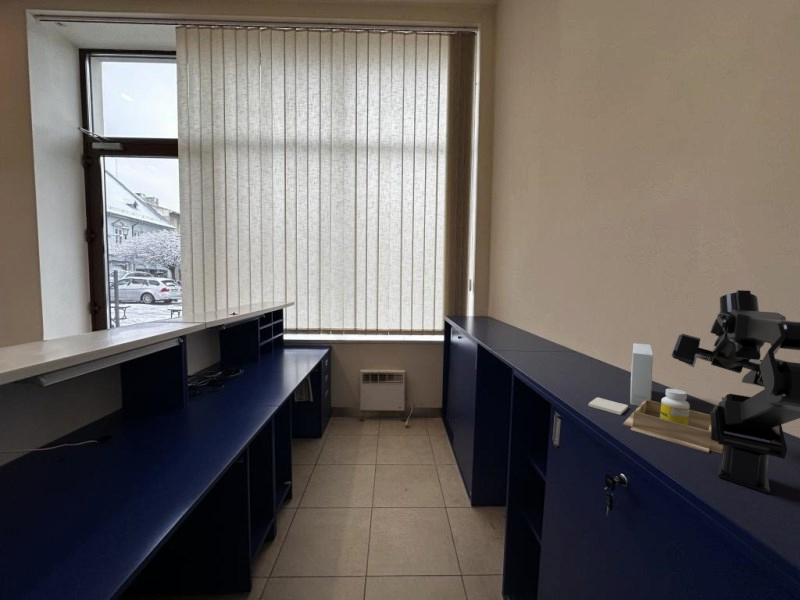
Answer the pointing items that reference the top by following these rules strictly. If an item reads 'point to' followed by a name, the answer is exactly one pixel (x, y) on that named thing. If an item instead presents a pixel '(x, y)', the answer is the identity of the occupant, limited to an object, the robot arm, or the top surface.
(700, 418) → the light brown piece
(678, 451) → the top surface
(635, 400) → the skincare box
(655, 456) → the top surface
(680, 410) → the supplement bottle
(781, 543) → the top surface
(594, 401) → the tile
